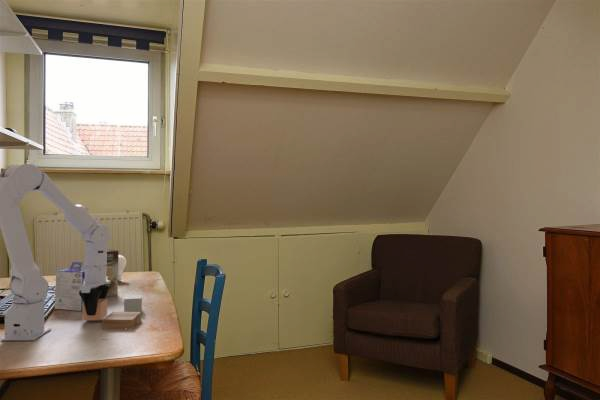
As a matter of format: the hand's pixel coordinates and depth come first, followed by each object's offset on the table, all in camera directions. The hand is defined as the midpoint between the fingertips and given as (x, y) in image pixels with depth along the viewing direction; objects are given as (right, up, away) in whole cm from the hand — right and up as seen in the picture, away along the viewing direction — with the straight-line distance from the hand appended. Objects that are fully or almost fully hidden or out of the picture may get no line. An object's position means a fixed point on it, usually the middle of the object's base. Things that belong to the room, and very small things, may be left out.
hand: (95, 312), depth 133 cm
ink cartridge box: (-13, -2, +13) cm, 19 cm away
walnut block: (+9, -3, -3) cm, 10 cm away
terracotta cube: (0, -2, 0) cm, 2 cm away
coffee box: (-12, -2, +32) cm, 34 cm away
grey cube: (+8, -2, +9) cm, 12 cm away
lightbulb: (-16, -1, +57) cm, 60 cm away
